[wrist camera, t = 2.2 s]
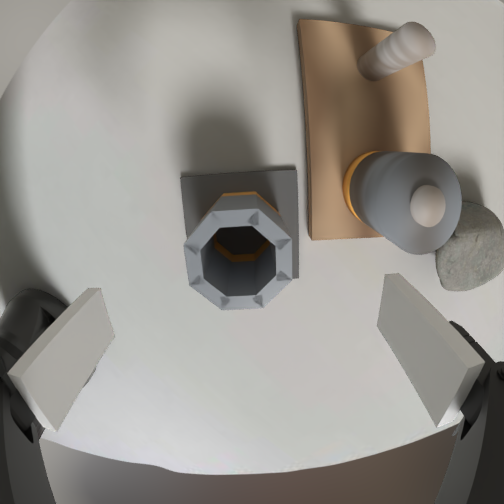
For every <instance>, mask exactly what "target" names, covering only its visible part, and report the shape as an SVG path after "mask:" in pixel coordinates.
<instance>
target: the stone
mask: <svg viewBox="0 0 504 504" xmlns="http://www.w3.org/2000/svg"><path fill="white" fill-rule="evenodd" d="M503 268H504V229H503V226H502V224H501V222H500V220H499V219H498V217H497V216H496V215H495V214H494V213H493V212H492V211H491V210H489V209H488V208H486V207H484V206H481V205H478V204H475V203H472V202H466V201H462V207H461V213H460V218H459V221H458V224H457V226H456V228H455V230H454V232H453V234H452V235H451V237H450V238H449V239H448V240H447V241H446V243H445V244H443V245H442V246H441V247H440V248H438V249H437V250H436V269H437V273H438V276H439V278H440V282H441V285H442V287H443V288H444V289H446V290H448V291H467V290H471V289H474V288H476V287H479V286H481V285H483V284H485V283H487V282H488V281H490V280H492V279H493V278H495V277H496V276H498V275H499V274H500V273H501V272H502V271H503Z"/></svg>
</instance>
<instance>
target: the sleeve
mask: <svg viewBox="0 0 504 504" xmlns="http://www.w3.org/2000/svg"><path fill="white" fill-rule="evenodd" d="M238 226H253V227H254V228H255V229H256V230H258V231H259V232H260V233H261V234H262V235H263V236H264V237H266V238H267V239H268V240H267V241H266V242H265V243H264V244H263V245H262V246H261V247H260V248H259V249H258V250H257V251H256V252H255V253H254V254H239V255H233V254H231V253H230V252H229V251H228V250H227V249H225V248H224V247H223V246H222V245H221V244H219V243H218V242H217V237H216V231H217V230H218V229H219V228H222V227H238ZM184 252H185V259H186V266H187V273H188V280H189V285H190V286H191V287H192V288H194V289H195V290H196V291H197V292H199V293H200V294H201V295H203V296H204V297H205V298H207V299H208V300H209V301H210V302H212V303H213V304H214V305H216V306H217V307H218V308H220V309H221V310H236V309H256V308H264V307H265V306H266V305H267V304H268V303H269V302H270V301H271V300H272V299H273V298H274V297H275V296H276V295H277V294H278V293H279V292H280V291H281V290H282V289H283V288H284V287H285V286H287V285H288V284H289V283H290V282H291V281H292V238H291V236H290V234H289V232H288V230H287V228H286V226H285V224H284V222H283V220H282V218H281V215H280V213H279V212H278V211H277V210H276V209H275V208H274V207H272V206H271V205H270V204H269V203H268V202H267V201H266V200H265V199H263V198H262V197H261V196H260V195H259V194H258V193H257V192H256V191H254V192H237V193H223V195H222V196H221V197H220V198H219V199H218V200H217V201H216V203H215V204H214V205H213V206H212V207H211V208H210V210H209V211H208V212H207V213H206V214H205V215H204V217H203V218H202V219H201V221H200V222H199V224H198V225H197V226H196V228H195V229H194V231H193V232H192V233H191V235H190V236H189V238H188V239H187V241H186V242H185V243H184Z"/></svg>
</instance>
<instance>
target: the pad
mask: <svg viewBox="0 0 504 504" xmlns="http://www.w3.org/2000/svg"><path fill="white" fill-rule="evenodd" d="M180 179H181V189H182V199H183V209H184V218H185V226H186V235H187V239H188V238H189V236H190V235H191V233H192V232H193V231H194V229H195V228H196V226H197V225H198V224H199V222H200V221H201V219H202V218H203V217H204V215H205V214H206V213H207V212H208V211H209V210H210V208H211V207H212V206H213V205H214V204H215V203H216V201H217V200H218V199H219V198H220V197H221V196H222V195H223V193H237V192H254V191H256V192H257V193H258V194H259V195H260V196H261V197H262V198H263V199H265V200H266V201H267V202H268V203H269V204H270V205H271V206H272V207H274V208H275V209H276V210H277V211H278V212H279V213H280V215H281V218H282V220H283V222H284V224H285V226H286V228H287V230H288V232H289V234H290V236H291V238H292V279H295V278H299V227H298V184H297V170H274V171H253V172H237V173H223V174H211V175H200V176H189V177H181V178H180ZM216 237H217V242H218V243H219V244H221V245H222V246H223V247H224V248H225V249H227V250H228V251H229V252H230V253H231V254H233V255H239V254H254V253H255V252H256V251H257V250H258V249H259V248H260V247H261V246H262V245H263V244H264V243H265V242H266V241H267V240H268V239H267V238H266V237H264V236H263V235H262V234H261V233H260V232H259V231H258V230H256V229H255V228H254V227H253V226H238V227H222V228H219V229H218V230H217V231H216Z"/></svg>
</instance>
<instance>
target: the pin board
mask: <svg viewBox="0 0 504 504" xmlns="http://www.w3.org/2000/svg"><path fill="white" fill-rule="evenodd" d="M297 32H298V40H299V50H300V59H301V70H302V82H303V94H304V108H305V124H306V143H307V167H308V209H309V237H310V238H311V240H330V239H350V238H371V237H385V238H386V239H388V240H389V241H391V242H392V243H394V244H395V245H396V246H398V247H399V248H401V249H402V250H404V251H406V252H408V253H411V254H416V255H422V254H427V253H431V252H433V251H435V250H437V249H438V248H440V247H441V246H442V245H443V244H445V243H446V241H447V240H448V239H449V238H450V237H451V235H452V234H453V232H454V230H455V228H456V226H457V224H458V221H459V218H460V213H461V207H462V196H461V188H460V185H459V181H458V179H457V176H456V174H455V173H454V171H453V169H452V168H451V167H450V165H449V164H448V163H447V162H446V161H444V160H443V159H442V158H440V157H438V156H436V155H433V154H431V148H430V123H429V109H428V98H427V89H426V81H425V74H424V67H423V61H422V60H423V59H425V58H427V57H430V56H432V55H433V54H434V53H435V50H436V44H435V40H434V38H433V36H432V35H431V33H430V32H429V31H428V30H427V29H426V28H425V27H424V26H422V25H421V24H419V23H416V22H407V23H406V24H404V25H403V26H401V27H400V28H399V29H397V30H396V31H394V32H390V31H386V30H381V29H376V28H371V27H366V26H360V25H354V24H347V23H339V22H331V21H321V20H308V19H299V21H298V24H297Z"/></svg>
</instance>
